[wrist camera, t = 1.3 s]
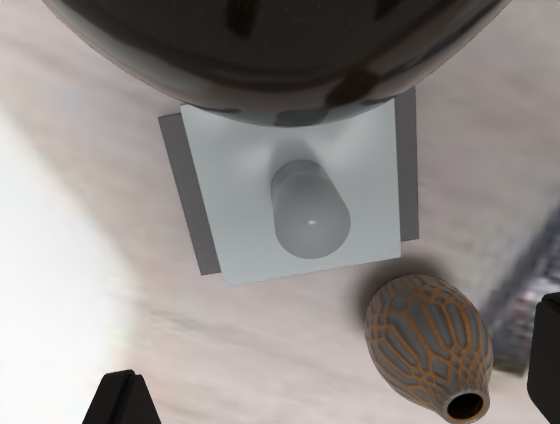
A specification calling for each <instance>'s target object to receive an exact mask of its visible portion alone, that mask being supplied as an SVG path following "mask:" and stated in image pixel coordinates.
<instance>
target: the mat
mask: <svg viewBox="0 0 560 424" xmlns="http://www.w3.org/2000/svg"><path fill="white" fill-rule="evenodd" d="M394 107H395V130H396V152H397V174H398V196H399V219H400V241H401V242H403V241H408V240H414V239H419V222H418V182H417V141H416V100H415V85H414V86H413V87H411V88H410V89H408V90H407V91H405V92H404V93H402V94H400V95H398V96H397V97H395V98H394ZM158 120H159V124H160V128H161V131H162V135H163V138H164V142H165V146H166V149H167V153H168V156H169V160H170V164H171V167H172V171H173V174H174V178H175V182H176V185H177V189H178V193H179V196H180V200H181V203H182V207H183V211H184V214H185V218H186V221H187V225H188V229H189V232H190V236H191V239H192V243H193V247H194V250H195V254H196V257H197V261H198V265H199V268H200V272H201V275H208V274H214V273H219V272H221V268H220V264H219V260H218V256H217V252H216V248H215V244H214V240H213V237H212V233H211V229H210V225H209V221H208V217H207V213H206V209H205V205H204V201H203V197H202V193H201V189H200V185H199V181H198V177H197V173H196V169H195V165H194V161H193V158H192V154H191V150H190V146H189V142H188V138H187V134H186V130H185V126H184V122H183V118H182V114H181V113H180V114H174V115H168V116H163V117H159V118H158Z"/></svg>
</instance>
